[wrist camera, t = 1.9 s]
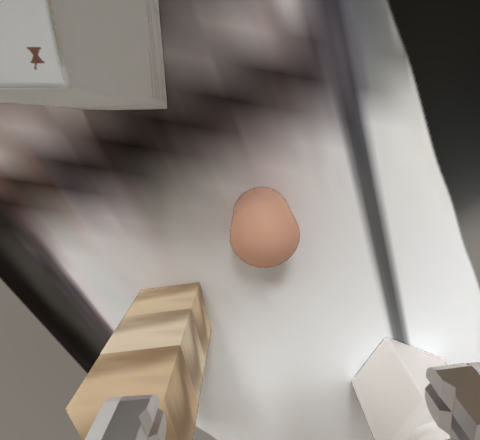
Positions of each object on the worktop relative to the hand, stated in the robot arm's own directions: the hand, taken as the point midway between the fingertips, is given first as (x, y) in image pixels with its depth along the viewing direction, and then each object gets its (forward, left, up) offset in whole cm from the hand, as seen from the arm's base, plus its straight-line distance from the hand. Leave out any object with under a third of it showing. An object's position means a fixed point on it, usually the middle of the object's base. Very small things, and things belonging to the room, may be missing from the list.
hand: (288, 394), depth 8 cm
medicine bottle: (+20, +12, -17) cm, 29 cm away
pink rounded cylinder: (0, 0, -17) cm, 17 cm away
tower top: (+9, -10, -9) cm, 16 cm away
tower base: (+9, -10, -17) cm, 22 cm away
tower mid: (+9, -10, -13) cm, 19 cm away
